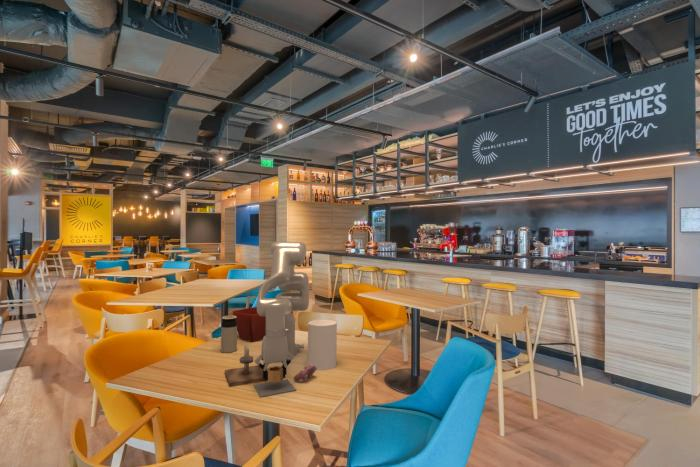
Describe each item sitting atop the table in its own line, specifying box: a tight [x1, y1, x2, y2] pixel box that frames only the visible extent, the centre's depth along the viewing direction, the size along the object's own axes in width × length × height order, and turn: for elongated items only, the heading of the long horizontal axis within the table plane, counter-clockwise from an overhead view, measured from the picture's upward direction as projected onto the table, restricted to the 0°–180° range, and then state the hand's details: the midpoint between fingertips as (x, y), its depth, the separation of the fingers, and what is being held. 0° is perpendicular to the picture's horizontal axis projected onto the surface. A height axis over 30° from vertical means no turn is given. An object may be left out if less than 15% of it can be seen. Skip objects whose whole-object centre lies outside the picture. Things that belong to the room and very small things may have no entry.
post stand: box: [224, 345, 266, 388], centre depth 153 cm, size 16×16×13 cm
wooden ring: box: [266, 365, 284, 383], centre depth 141 cm, size 6×6×4 cm
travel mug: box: [220, 315, 238, 354], centre depth 189 cm, size 8×8×18 cm
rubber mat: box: [253, 378, 297, 398], centre depth 141 cm, size 14×12×1 cm
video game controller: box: [293, 364, 317, 382], centre depth 151 cm, size 10×5×7 cm, turn 150°
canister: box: [307, 318, 338, 371], centre depth 168 cm, size 14×14×20 cm
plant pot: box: [232, 306, 266, 343], centre depth 213 cm, size 19×19×17 cm
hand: (274, 378), depth 141 cm, fingers closed on wooden ring, 6 cm apart
